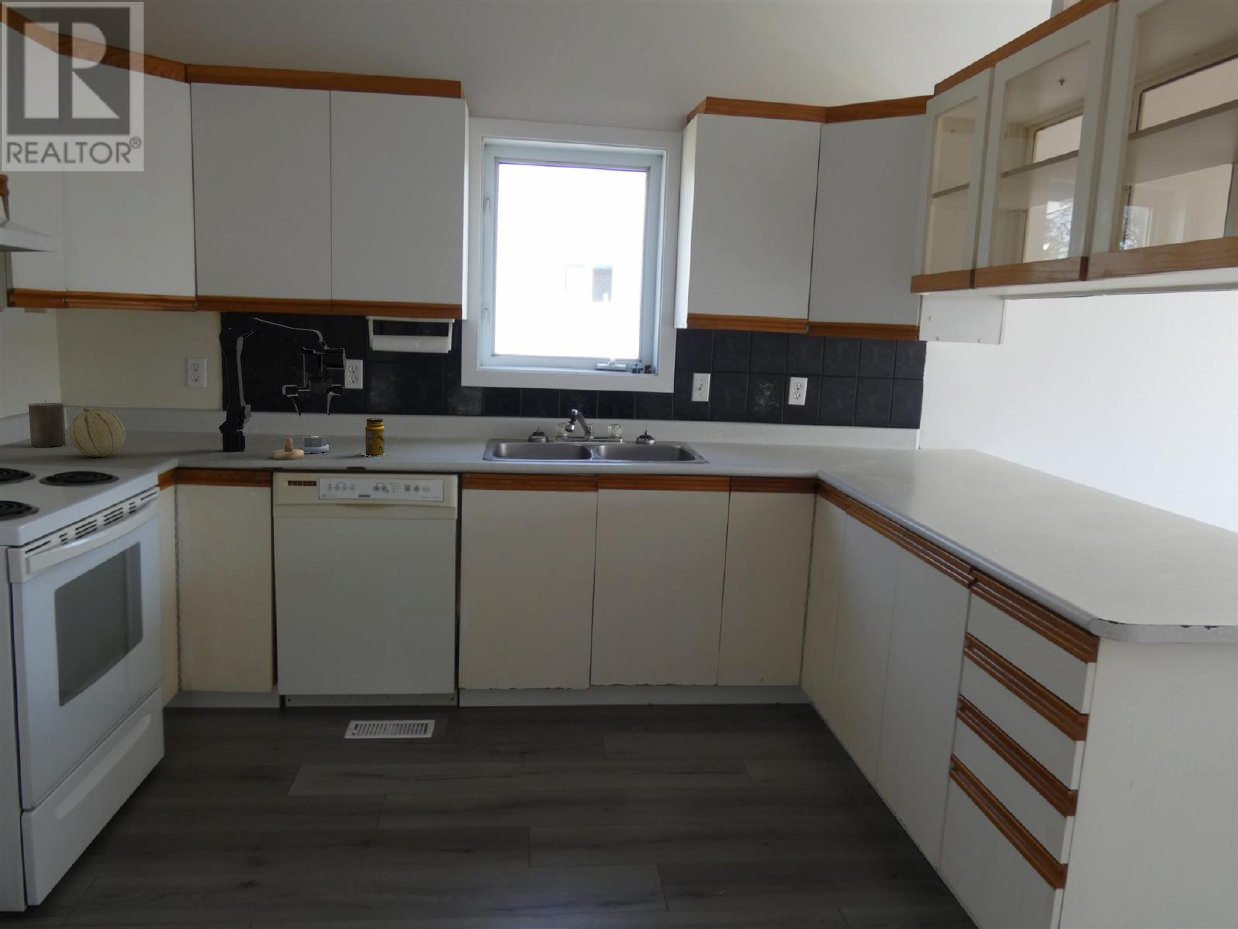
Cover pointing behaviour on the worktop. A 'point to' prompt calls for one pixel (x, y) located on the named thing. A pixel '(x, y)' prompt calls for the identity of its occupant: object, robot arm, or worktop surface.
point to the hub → (315, 448)
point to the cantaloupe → (97, 433)
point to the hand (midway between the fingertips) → (314, 415)
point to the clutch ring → (314, 441)
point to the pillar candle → (47, 424)
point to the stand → (288, 451)
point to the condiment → (374, 437)
